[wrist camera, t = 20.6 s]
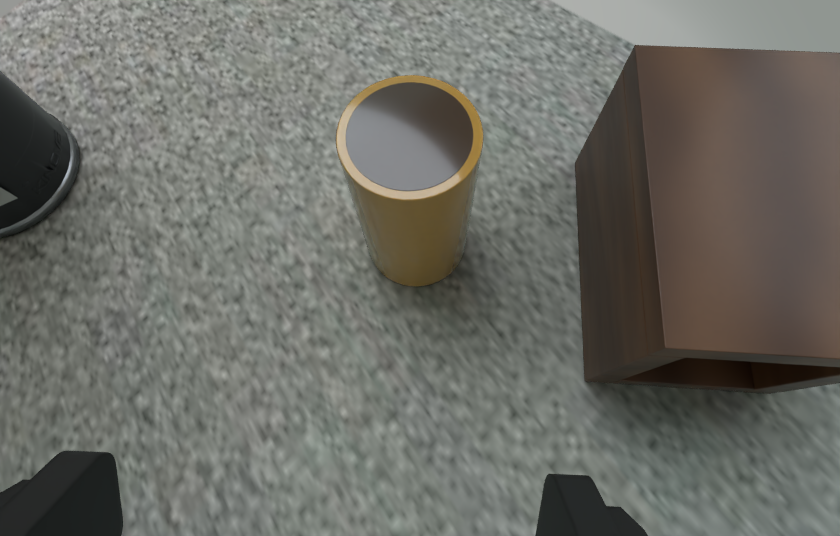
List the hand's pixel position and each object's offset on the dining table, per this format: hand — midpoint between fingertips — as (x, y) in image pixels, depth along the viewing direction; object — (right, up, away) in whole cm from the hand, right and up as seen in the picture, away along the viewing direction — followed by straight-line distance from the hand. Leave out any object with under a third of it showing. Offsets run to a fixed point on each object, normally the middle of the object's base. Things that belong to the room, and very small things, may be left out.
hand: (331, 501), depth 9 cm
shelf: (+16, +4, +20) cm, 26 cm away
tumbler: (+1, +6, +21) cm, 22 cm away
